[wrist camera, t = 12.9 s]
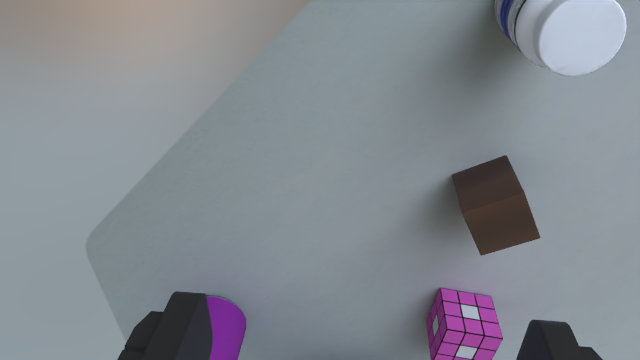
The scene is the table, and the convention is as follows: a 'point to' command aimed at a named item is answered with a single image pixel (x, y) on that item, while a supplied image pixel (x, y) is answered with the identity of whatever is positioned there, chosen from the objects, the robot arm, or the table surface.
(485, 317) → the puzzle toy
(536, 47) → the pill bottle
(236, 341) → the beverage can
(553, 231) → the table surface
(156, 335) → the robot arm
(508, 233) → the walnut block
